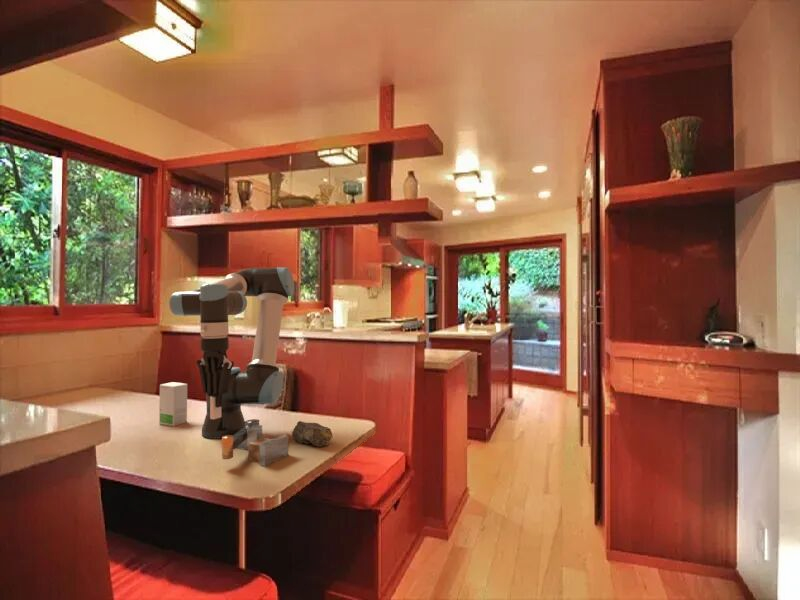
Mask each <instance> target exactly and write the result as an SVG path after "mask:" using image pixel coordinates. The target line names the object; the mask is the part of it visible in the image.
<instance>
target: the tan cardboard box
mask: <svg viewBox="0 0 800 600" xmlns="http://www.w3.org/2000/svg"><path fill="white" fill-rule="evenodd" d="M272 439H273V438H272ZM272 439H271V438H269V439H268V437H264V438H261V439H258V440H256V441H253V442H251V443H249V450H248V460H250V461H255V462H258V463H260V445H261V444H263V443H265V442H268V441H270V440H272Z"/></svg>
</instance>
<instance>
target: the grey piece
mask: <svg viewBox="0 0 800 600" xmlns="http://www.w3.org/2000/svg"><path fill="white" fill-rule="evenodd" d="M262 438H265V437H263V436H262ZM267 438H268V437H267ZM268 439H270V438H268ZM236 448H237V449H241V450H247V451H249V446H247V439H246V440H244V441H243V442H242V443H241V444H240V445H239V446H237V447H236ZM236 448H235V449H236ZM287 456H289V435H285V434H281V435H279V436H278V437H274V438H272V440H270V441H268V442H265V443H263V444H261V445H260V462H259V466H262V467H267V466H269V465H271V464H273V463H275V462H276V461H279V460H281V459H283V458H285V457H287Z"/></svg>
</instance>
